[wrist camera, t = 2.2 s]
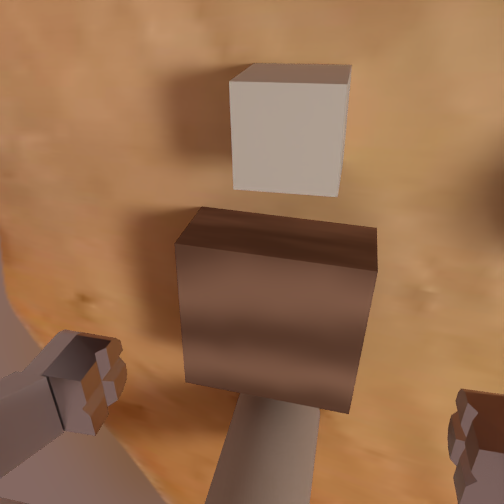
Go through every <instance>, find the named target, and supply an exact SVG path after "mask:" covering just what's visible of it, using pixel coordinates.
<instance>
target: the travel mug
mask: <svg viewBox="0 0 504 504" xmlns="http://www.w3.org/2000/svg"><path fill="white" fill-rule="evenodd" d="M319 419H320V411H319V408H315V407H310V406H305V405H300V404H295V403H289V402H284V401H279V400H274V399H269V398H264V397H259V396H254V395H249V394H243V393H240V395H239V398H238V401H237V404H236V407H235V410H234V414H233V417H232V420H231V423H230V426H229V429H228V432H227V436H226V439H225V442H224V445H223V448H222V451H221V454H220V458H219V461H218V464H217V467H216V470H215V473H214V476H213V480H212V483H211V486H210V489H209V492H208V495H207V498H206V502H205V504H309V503H310V495H311V486H312V478H313V469H314V461H315V453H316V444H317V436H318V428H319Z"/></svg>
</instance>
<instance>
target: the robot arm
mask: <svg viewBox="0 0 504 504" xmlns="http://www.w3.org/2000/svg"><path fill="white" fill-rule="evenodd" d="M122 351H123V349H122V345H121V341H120V340H119V339H117V338H113V337H107V336H101V335H95V334H90V333H84V332H76V331H70V330H63V331H60V332H59V333H58V334H57V335H56V336H55V337H54V338H53V339H52V340H51V341H50V342H49V343H48V344H47V345H46V346H45V348H44V349H43V350H42V351H41V352H40V353H39V354H38V355H37V356H36V357H35V358H34V359H33V361H32V362H31V363H30V364H29V365H28V366H27V367H26V368H25V369H24V370H23V371H22V372H14V373H12V374H10V375H8V376H6V377H3V378H1V379H0V478H2V477H3V476H5V475H6V474H7V473H9V472H10V471H11V470H13V469H14V468H16V467H17V466H18V465H20V464H21V463H23V462H24V461H25V460H27V459H28V458H29V457H31V456H32V455H33V454H35V453H36V452H38V451H39V450H41V449H42V448H43V447H45V446H46V445H47V444H49V443H50V442H52V441H53V440H54V439H56V438H57V437H59V436H60V435H61V434H62V433H64V431H69V432H75V433H81V434H87V435H94V436H96V434H97V433H98V431H99V430H100V428H101V426H102V425H103V423H104V422H105V420H106V418H107V417H108V415H109V411H108V406H109V405H111V404H112V403H114V402H116V401H117V400H118V399H119V397H120V396H121V394H122V392H123V390H124V387H125V383H126V380H127V369H126V364H125V362H124V361H123V360H122V359H121V358H120V357H119V355H120V354H121V352H122ZM456 405H457V410H458V411H457V412H456V413H454V414H452V415H451V418H450V422H449V427H448V450H449V456H450V459H451V460H452V462H453V463H454V464H455V465H456V466H457V467H456V470H455V473H454V477H453V479H454V484H455V489H456V494H457V500H458V504H504V394H497V393H490V392H483V391H475V390H468V389H461V390H460V391H459V392H458V395H457V398H456ZM0 504H27V503H23V502H18V501H14V500H10V499H6V498H1V497H0Z"/></svg>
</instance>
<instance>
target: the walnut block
mask: <svg viewBox="0 0 504 504" xmlns="http://www.w3.org/2000/svg"><path fill="white" fill-rule="evenodd" d="M175 256H176V268H177V281H178V294H179V306H180V319H181V331H182V344H183V356H184V369H185V381H186V382H187V383H192V384H197V385H203V386H208V387H213V388H218V389H223V390H228V391H233V392H238V393H243V394H249V395H254V396H259V397H264V398H269V399H274V400H279V401H284V402H289V403H295V404H300V405H305V406H310V407H315V408H320V409H325V410H330V411H335V412H341V413H346V414H349V410H350V405H351V400H352V396H353V391H354V386H355V381H356V376H357V371H358V366H359V361H360V356H361V351H362V346H363V341H364V336H365V332H366V327H367V322H368V317H369V312H370V307H371V302H372V297H373V292H374V287H375V282H376V277H377V272H378V263H377V228H373V227H365V226H356V225H348V224H340V223H332V222H324V221H316V220H307V219H299V218H291V217H283V216H275V215H267V214H258V213H250V212H242V211H234V210H226V209H218V208H209V207H201V208H200V210H199V211H198V213H197V214H196V215H195V217H194V218H193V219H192V221H191V222H190V223H189V225H188V226H187V227H186V229H185V230H184V231H183V233H182V234H181V235H180V237H179V238H178V239H177V241H176V242H175Z"/></svg>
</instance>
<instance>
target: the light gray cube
mask: <svg viewBox="0 0 504 504" xmlns="http://www.w3.org/2000/svg"><path fill="white" fill-rule="evenodd" d="M351 69H352V65H335V64H277V63H254V64H252V65H251V66H249V67H248V68H247V69H245V70H244V71H243V72H241V73H240V74H238V75H237V76H236V77H234V78H233V79H231V80H230V81H229V94H230V118H231V142H232V166H233V189H236V190H249V191H262V192H276V193H289V194H303V195H316V196H329V197H338V191H339V184H340V178H341V171H342V165H343V157H344V146H345V135H346V124H347V113H348V102H349V91H350V80H351Z"/></svg>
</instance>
